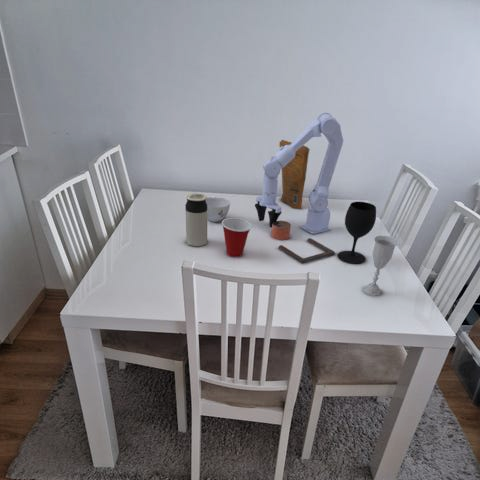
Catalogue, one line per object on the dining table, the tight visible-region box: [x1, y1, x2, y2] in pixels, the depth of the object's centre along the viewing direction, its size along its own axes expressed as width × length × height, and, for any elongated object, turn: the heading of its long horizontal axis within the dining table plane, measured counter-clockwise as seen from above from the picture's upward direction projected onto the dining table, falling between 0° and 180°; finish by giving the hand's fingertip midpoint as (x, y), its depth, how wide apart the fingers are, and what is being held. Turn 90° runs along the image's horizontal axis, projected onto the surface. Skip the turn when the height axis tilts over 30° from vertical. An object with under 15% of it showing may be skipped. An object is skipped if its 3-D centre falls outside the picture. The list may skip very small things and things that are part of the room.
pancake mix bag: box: [278, 139, 311, 210], centre depth 193 cm, size 7×19×28 cm, turn 30°
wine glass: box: [337, 201, 377, 265], centre depth 150 cm, size 10×10×20 cm
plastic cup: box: [221, 217, 253, 258], centre depth 151 cm, size 11×11×12 cm
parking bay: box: [278, 237, 336, 265], centre depth 158 cm, size 16×14×1 cm
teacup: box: [206, 196, 231, 223], centre depth 178 cm, size 15×12×8 cm
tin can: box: [270, 220, 292, 241], centre depth 168 cm, size 8×8×5 cm
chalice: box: [363, 235, 399, 296], centre depth 131 cm, size 7×7×18 cm
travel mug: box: [185, 192, 208, 247], centre depth 155 cm, size 8×8×18 cm
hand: (266, 223), depth 175 cm, fingers open, 7 cm apart
